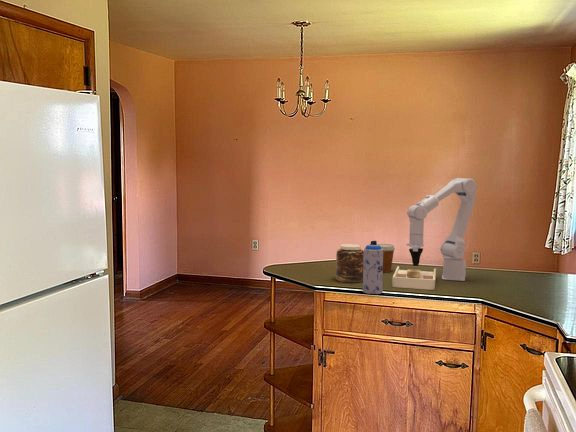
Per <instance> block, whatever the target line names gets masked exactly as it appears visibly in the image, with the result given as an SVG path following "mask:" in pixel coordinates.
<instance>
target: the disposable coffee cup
mask: <svg viewBox="0 0 576 432" xmlns="http://www.w3.org/2000/svg"><path fill="white" fill-rule="evenodd" d="M378 245H379V246H381V248H382V249H383V273H389V272H391V271H392V265H393V259H394V251H395V249H396V248H395V245H394V244H388V243H379V244H378Z"/></svg>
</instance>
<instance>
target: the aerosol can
mask: <svg viewBox="0 0 576 432" xmlns="http://www.w3.org/2000/svg"><path fill="white" fill-rule="evenodd" d="M363 251H364V265H363V281H362V290H361V291H362V292H363V293H365V294H368V295H369V294H370V295H379V294H382V293H383V292H384V290H383V277H384V276H383V275H384V274H383V273H384V272H383V249H382V248H381V246H379V245H378V244H377V240H372V241H370V243H369V244H367V245H366V246H365V247H364V248H363Z"/></svg>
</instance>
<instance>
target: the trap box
mask: <svg viewBox="0 0 576 432" xmlns="http://www.w3.org/2000/svg"><path fill="white" fill-rule="evenodd" d="M407 270H408V269H406V270H405V269H400V266H399V265H398V266H396V269H395V271H394V273H393V275H392V284H391V285H392V288H400V289H402V288H403V289H414V290H415V289H416V290H428V291H429V290H431V291H435V290H436V280H437V279H436V277H437V274H436V273H437V268H433V271H423V270H420V279H417V278H407Z"/></svg>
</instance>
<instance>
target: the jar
mask: <svg viewBox="0 0 576 432" xmlns="http://www.w3.org/2000/svg"><path fill="white" fill-rule="evenodd" d="M335 258H336V259H335V280H336V281H338V282H341V283H349V284H350V283H363V265H364V249H362V248H361V245H360V244H356V243H355V244H354V243H343V244H340V248H339V249H337V250H336V257H335Z"/></svg>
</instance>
